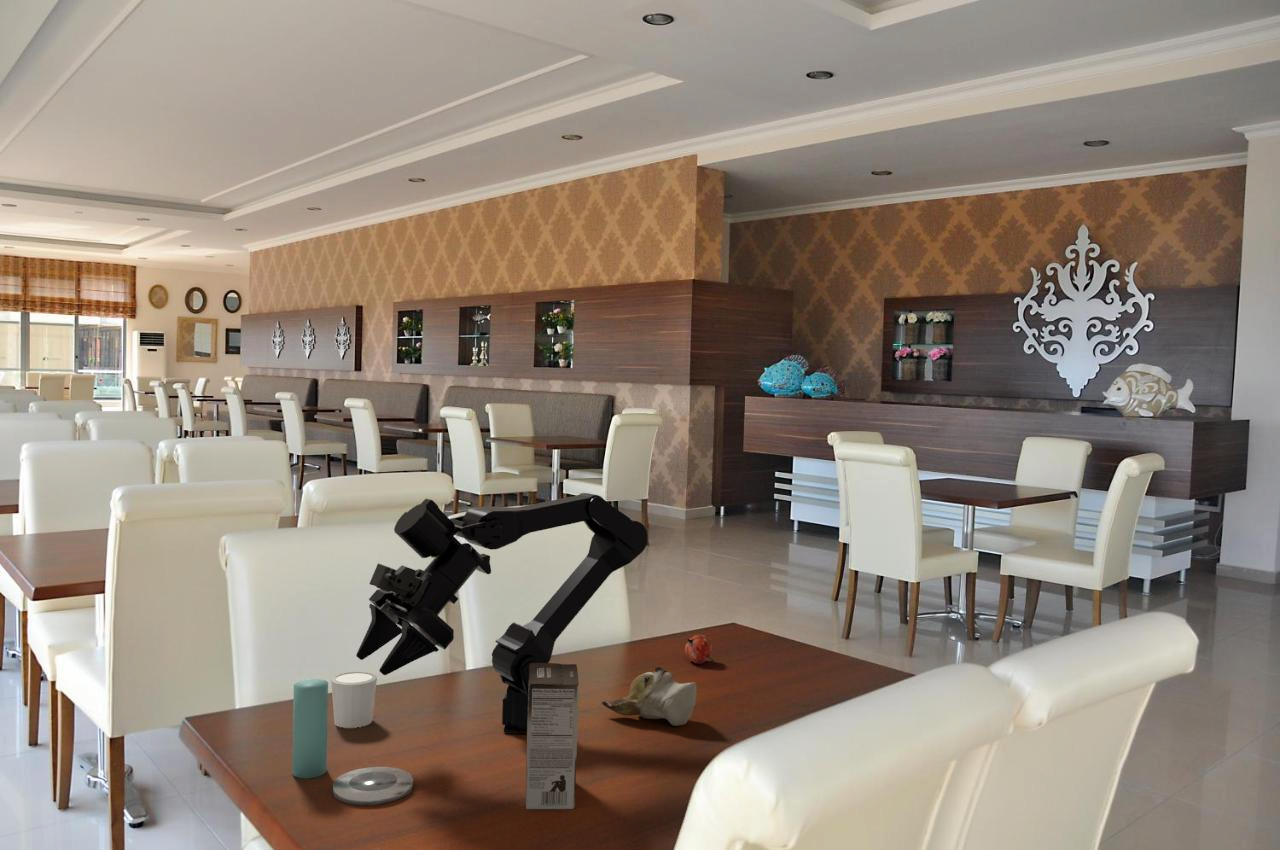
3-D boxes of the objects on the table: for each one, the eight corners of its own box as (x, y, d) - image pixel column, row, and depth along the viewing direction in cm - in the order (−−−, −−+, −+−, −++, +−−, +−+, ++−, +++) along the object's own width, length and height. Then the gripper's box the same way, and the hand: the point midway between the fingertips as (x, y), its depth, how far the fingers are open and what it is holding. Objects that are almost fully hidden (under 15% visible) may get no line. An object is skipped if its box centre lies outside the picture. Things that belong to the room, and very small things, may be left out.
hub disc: (420, 775, 133) (420, 767, 133) (402, 806, 123) (402, 798, 123) (346, 772, 133) (346, 764, 133) (322, 804, 123) (322, 795, 123)
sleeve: (330, 766, 135) (332, 679, 134) (320, 778, 130) (322, 689, 130) (298, 765, 135) (300, 678, 134) (287, 777, 130) (288, 688, 130)
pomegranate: (700, 665, 196) (672, 644, 194) (718, 643, 196) (690, 622, 194) (709, 677, 191) (680, 655, 188) (727, 654, 191) (699, 632, 189)
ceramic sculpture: (677, 679, 150) (598, 667, 159) (678, 736, 150) (599, 721, 159) (712, 665, 159) (635, 655, 167) (713, 719, 159) (636, 706, 167)
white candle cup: (363, 731, 149) (364, 685, 148) (321, 727, 150) (322, 681, 150) (383, 717, 155) (384, 673, 155) (343, 712, 157) (344, 669, 156)
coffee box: (526, 781, 132) (529, 662, 131) (574, 781, 132) (577, 662, 132) (524, 810, 123) (527, 682, 122) (575, 810, 123) (579, 682, 123)
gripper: (381, 534, 147) (308, 617, 141) (431, 551, 132) (351, 645, 126) (431, 581, 152) (362, 663, 146) (485, 602, 137) (410, 695, 131)
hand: (369, 665), depth 137 cm, fingers open, 9 cm apart
